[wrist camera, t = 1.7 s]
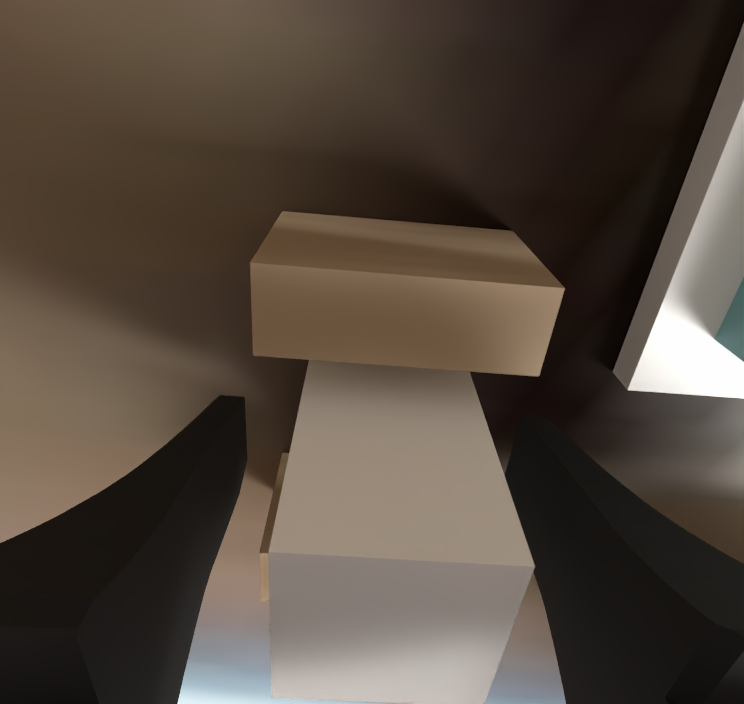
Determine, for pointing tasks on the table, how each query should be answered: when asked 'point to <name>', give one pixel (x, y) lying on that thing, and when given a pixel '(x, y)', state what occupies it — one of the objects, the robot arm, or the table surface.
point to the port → (698, 268)
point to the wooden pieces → (397, 302)
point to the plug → (392, 542)
